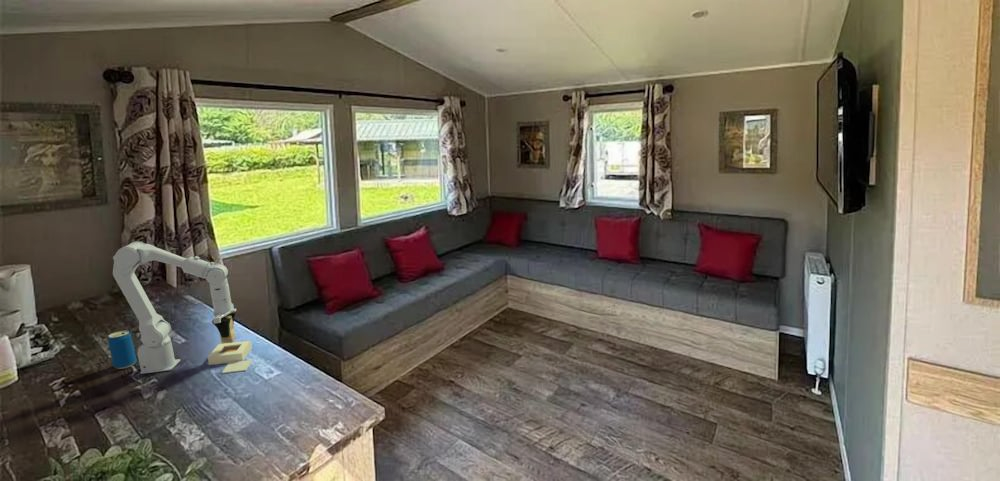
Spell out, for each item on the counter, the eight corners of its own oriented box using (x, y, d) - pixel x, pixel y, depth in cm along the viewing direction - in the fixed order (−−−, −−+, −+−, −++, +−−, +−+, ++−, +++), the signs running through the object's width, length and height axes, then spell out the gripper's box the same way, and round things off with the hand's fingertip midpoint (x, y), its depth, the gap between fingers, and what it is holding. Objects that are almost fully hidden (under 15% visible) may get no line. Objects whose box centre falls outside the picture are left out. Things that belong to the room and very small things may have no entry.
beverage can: (141, 362, 172) (134, 331, 170) (122, 371, 166) (115, 338, 164) (128, 360, 174) (121, 329, 172) (109, 368, 168) (102, 336, 166)
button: (221, 359, 172) (220, 356, 171) (226, 353, 176) (225, 350, 176) (236, 357, 173) (235, 354, 172) (240, 351, 177) (240, 348, 177)
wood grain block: (221, 343, 171) (217, 319, 169) (225, 339, 175) (221, 316, 173) (232, 342, 172) (228, 318, 170) (235, 338, 175) (231, 315, 173)
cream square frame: (208, 365, 168) (207, 357, 168) (220, 351, 179) (218, 344, 178) (243, 361, 170) (241, 353, 170) (252, 347, 181) (250, 340, 180)
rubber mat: (221, 373, 162) (221, 372, 161) (229, 363, 169) (229, 362, 169) (246, 370, 163) (245, 369, 163) (252, 360, 170) (252, 359, 170)
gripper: (226, 304, 164) (233, 341, 166) (240, 291, 177) (245, 325, 180) (203, 306, 162) (210, 344, 165) (219, 293, 176) (225, 328, 179)
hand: (227, 334), depth 173 cm, fingers closed on wood grain block, 3 cm apart
